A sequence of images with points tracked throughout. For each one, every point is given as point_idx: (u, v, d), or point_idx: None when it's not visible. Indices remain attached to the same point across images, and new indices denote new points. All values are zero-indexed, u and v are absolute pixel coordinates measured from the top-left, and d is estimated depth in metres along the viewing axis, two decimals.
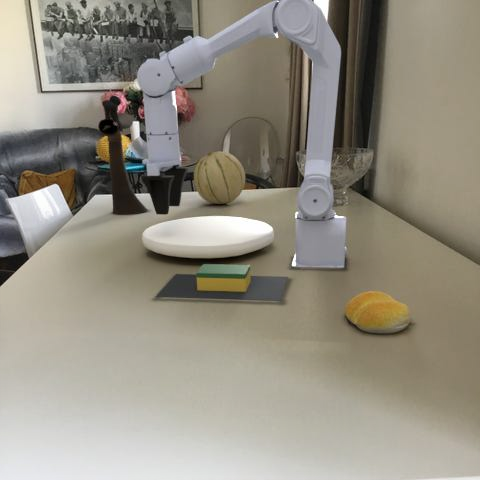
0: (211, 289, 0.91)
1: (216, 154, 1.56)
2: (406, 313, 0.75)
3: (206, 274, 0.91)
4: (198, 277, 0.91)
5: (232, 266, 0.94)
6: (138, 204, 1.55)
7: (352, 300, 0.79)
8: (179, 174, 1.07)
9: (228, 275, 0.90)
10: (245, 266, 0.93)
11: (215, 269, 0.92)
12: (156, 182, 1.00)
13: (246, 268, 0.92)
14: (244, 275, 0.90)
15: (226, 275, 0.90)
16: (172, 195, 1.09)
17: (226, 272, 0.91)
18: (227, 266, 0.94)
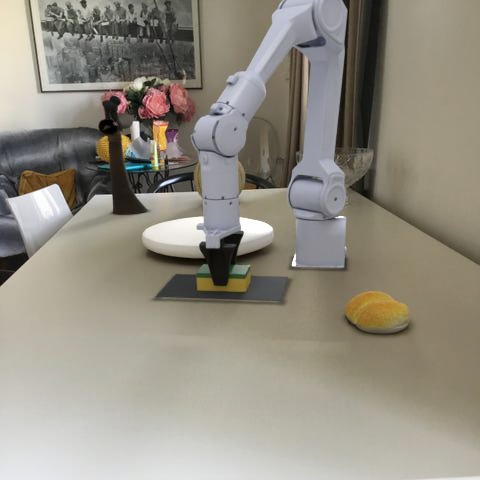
0: (211, 289, 0.91)
1: None
2: (406, 313, 0.75)
3: (206, 274, 0.91)
4: (198, 277, 0.91)
5: (232, 266, 0.94)
6: (138, 204, 1.55)
7: (352, 300, 0.79)
8: (235, 240, 0.93)
9: None
10: (245, 266, 0.93)
11: None
12: (216, 251, 0.88)
13: (246, 268, 0.92)
14: (244, 275, 0.90)
15: None
16: None
17: None
18: None
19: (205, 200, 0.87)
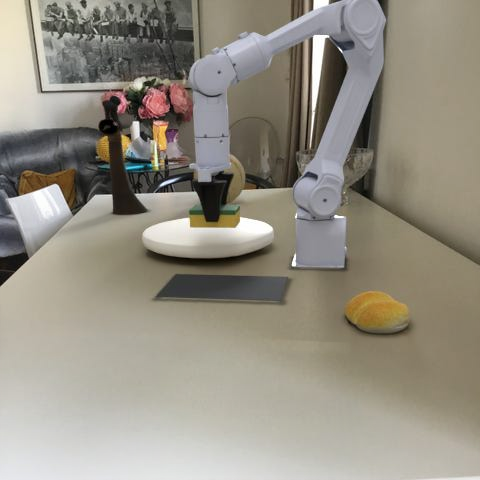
0: (203, 226, 0.97)
1: None
2: (406, 313, 0.75)
3: (198, 211, 0.96)
4: (191, 214, 0.97)
5: (223, 205, 0.99)
6: (138, 204, 1.55)
7: (352, 300, 0.79)
8: (225, 180, 0.99)
9: None
10: (235, 205, 0.99)
11: None
12: (207, 188, 0.94)
13: (236, 206, 0.98)
14: (234, 211, 0.95)
15: None
16: None
17: None
18: None
19: (197, 139, 0.92)
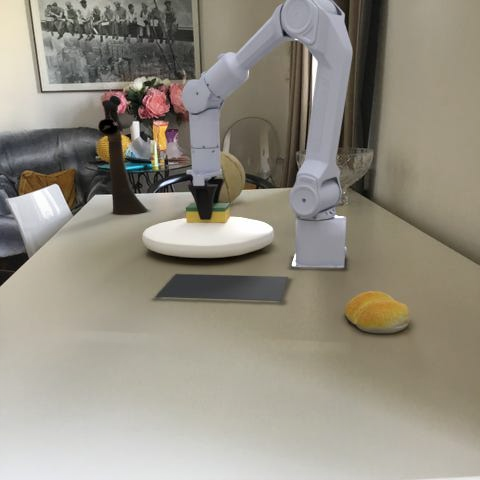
0: (197, 221, 1.14)
1: None
2: (406, 313, 0.75)
3: (193, 208, 1.13)
4: (187, 211, 1.13)
5: (215, 203, 1.16)
6: (138, 204, 1.55)
7: (352, 300, 0.79)
8: (217, 184, 1.15)
9: None
10: (225, 203, 1.16)
11: None
12: (201, 191, 1.10)
13: (226, 204, 1.14)
14: (224, 208, 1.12)
15: None
16: None
17: None
18: None
19: (193, 149, 1.09)
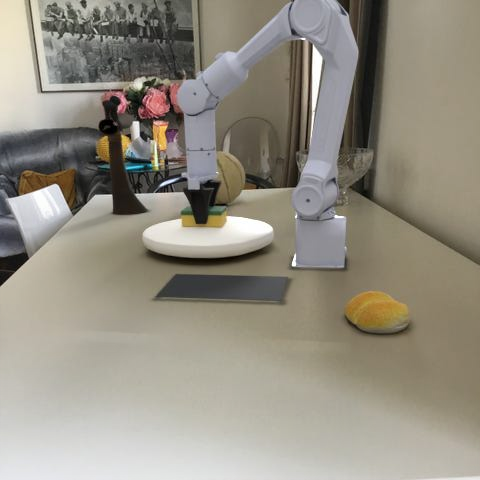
0: (193, 225, 1.10)
1: (216, 154, 1.56)
2: (406, 313, 0.75)
3: (189, 212, 1.09)
4: (182, 215, 1.10)
5: (211, 207, 1.12)
6: (138, 204, 1.55)
7: (352, 300, 0.79)
8: (213, 187, 1.12)
9: None
10: (222, 207, 1.12)
11: None
12: (197, 194, 1.07)
13: (222, 208, 1.11)
14: (220, 212, 1.08)
15: None
16: None
17: None
18: None
19: (188, 151, 1.06)
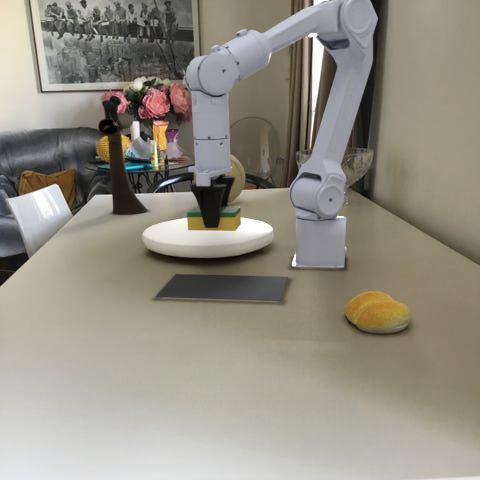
0: (201, 229, 0.93)
1: None
2: (406, 313, 0.75)
3: (196, 213, 0.92)
4: (189, 216, 0.92)
5: (222, 207, 0.95)
6: (138, 204, 1.55)
7: (352, 300, 0.79)
8: (226, 184, 0.94)
9: None
10: (235, 207, 0.94)
11: None
12: (207, 192, 0.89)
13: (236, 208, 0.93)
14: (234, 214, 0.91)
15: None
16: None
17: None
18: None
19: (196, 141, 0.88)
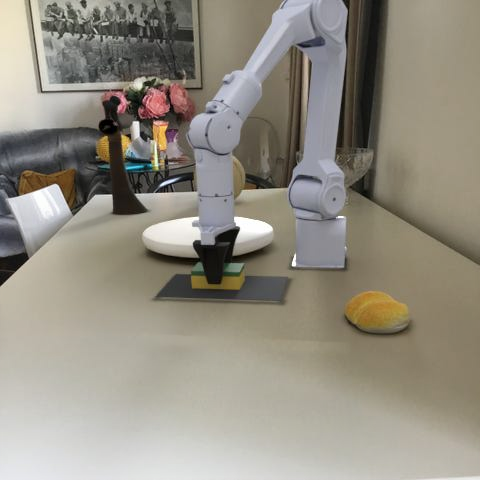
0: (205, 287, 0.92)
1: None
2: (406, 313, 0.75)
3: (200, 272, 0.92)
4: (193, 275, 0.92)
5: (226, 264, 0.95)
6: (138, 204, 1.55)
7: (352, 300, 0.79)
8: (231, 236, 0.95)
9: None
10: (239, 264, 0.94)
11: None
12: (209, 250, 0.88)
13: (240, 266, 0.93)
14: (238, 273, 0.91)
15: None
16: None
17: None
18: None
19: (200, 197, 0.87)
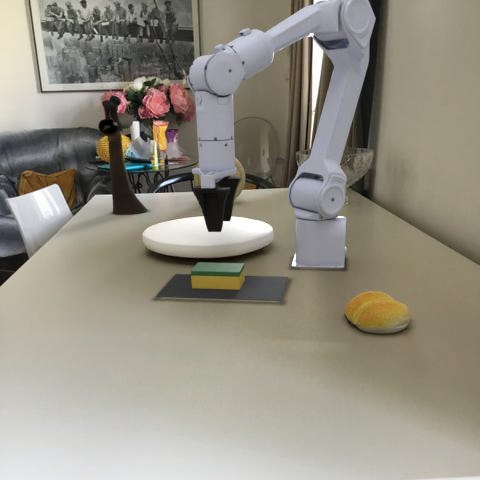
0: (205, 287, 0.92)
1: None
2: (406, 313, 0.75)
3: (200, 272, 0.92)
4: (193, 275, 0.92)
5: (226, 264, 0.95)
6: (138, 204, 1.55)
7: (352, 300, 0.79)
8: (232, 185, 0.94)
9: (222, 273, 0.91)
10: (239, 264, 0.94)
11: (210, 267, 0.93)
12: (210, 195, 0.87)
13: (240, 266, 0.93)
14: (238, 273, 0.91)
15: (220, 273, 0.91)
16: None
17: (220, 270, 0.92)
18: (222, 264, 0.95)
19: (200, 142, 0.86)
